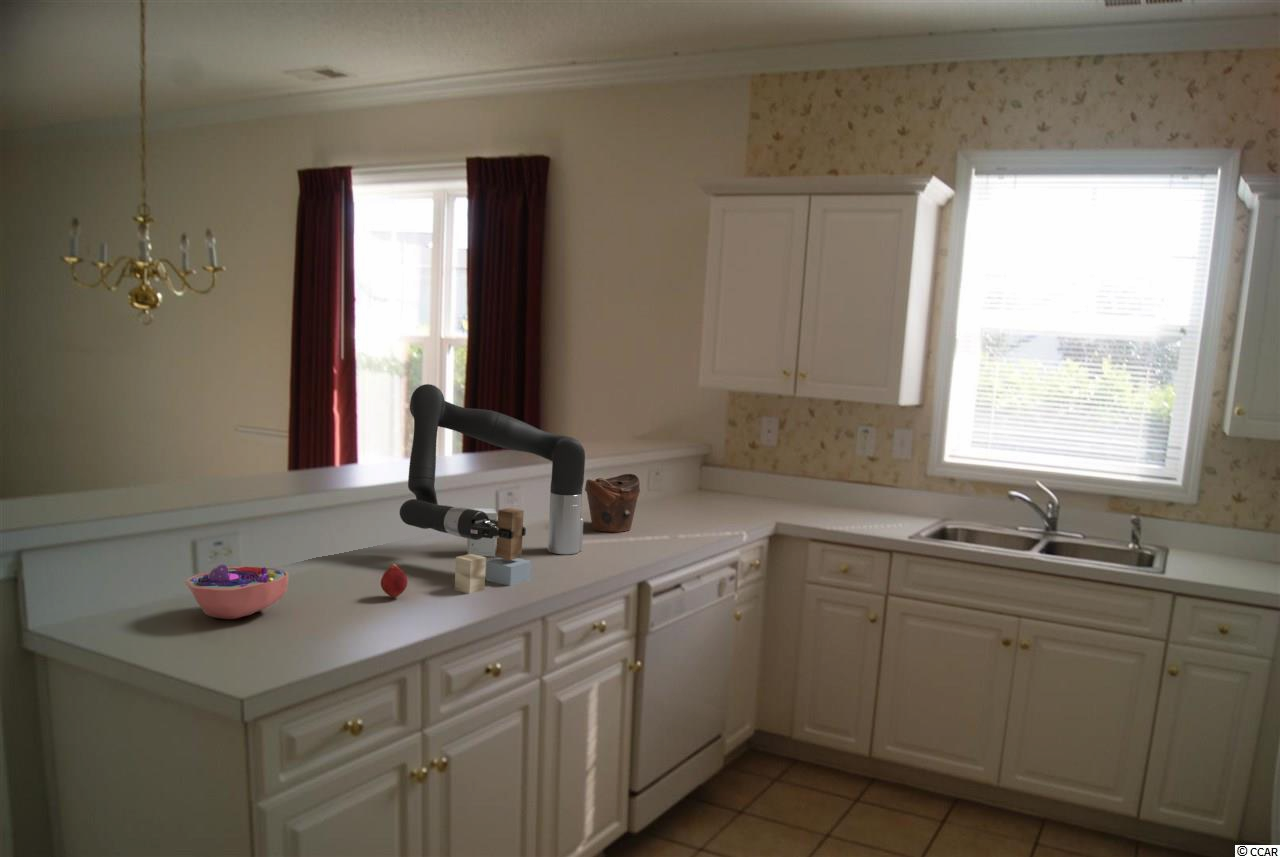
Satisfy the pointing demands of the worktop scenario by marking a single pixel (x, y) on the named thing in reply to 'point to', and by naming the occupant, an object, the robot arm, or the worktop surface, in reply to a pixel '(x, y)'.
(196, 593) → the cell model
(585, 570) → the worktop surface
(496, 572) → the base block
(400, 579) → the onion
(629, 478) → the brown wooden tapered pot
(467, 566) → the birch block
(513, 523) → the walnut block
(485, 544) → the supplement box
